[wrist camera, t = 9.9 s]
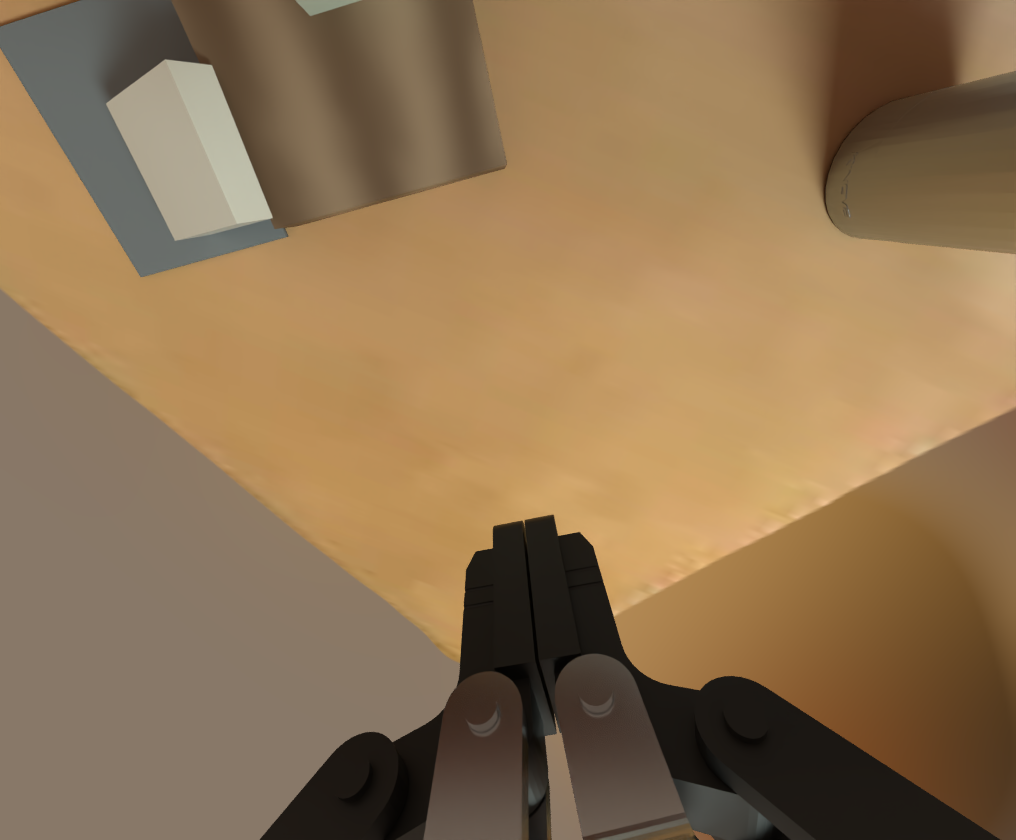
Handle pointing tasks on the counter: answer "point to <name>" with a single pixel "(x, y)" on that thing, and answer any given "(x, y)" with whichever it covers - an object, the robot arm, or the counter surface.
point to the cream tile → (189, 150)
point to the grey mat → (90, 126)
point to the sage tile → (322, 5)
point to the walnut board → (350, 98)
